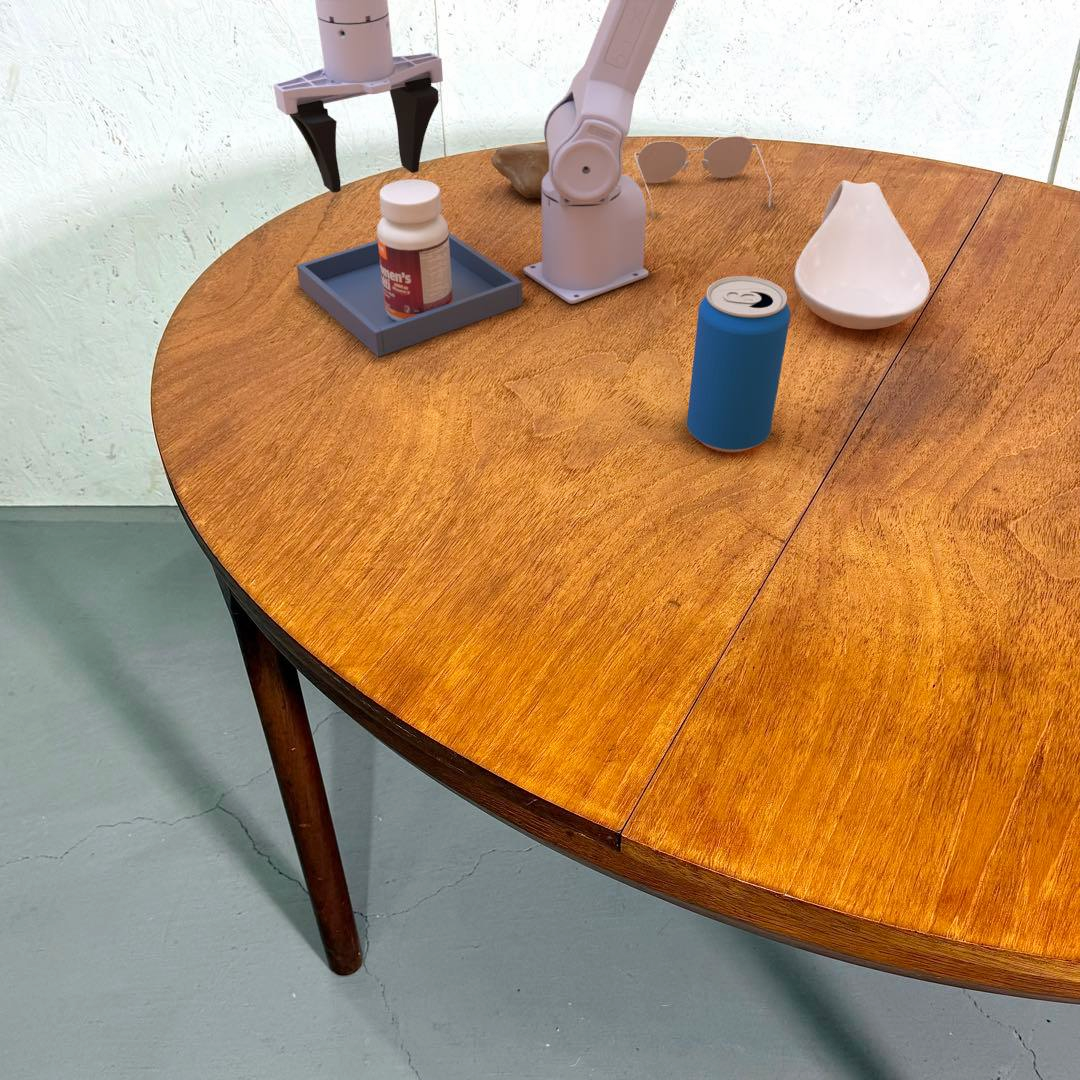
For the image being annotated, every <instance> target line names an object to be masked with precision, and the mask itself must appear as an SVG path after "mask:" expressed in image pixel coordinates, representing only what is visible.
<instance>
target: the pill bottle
mask: <svg viewBox="0 0 1080 1080" xmlns="http://www.w3.org/2000/svg"><path fill="white" fill-rule="evenodd" d="M441 195H442V194H441V189H440V187H439V186H438V184H436V183H434V182H432V181H430V180H425V179H418V178H417V179H416V178H415V179H414V178H413V179H412V178H409V179H400V180H395V181H392V182H390V183H388V184H385V185H384V186H382V187H381V189H380V190H379V209H380V215H381V216H382V217H381V218H380V220H379V221H378V223H377V227H376V237H377V240H378V247H379V256H380V267H381V276H382V285H383V293H384V302H385V309H386V312H387V314H388V315H389V317H390V318H392V319H393V320H395V321H396V322H398V321H400V320H403V319H406V318H409V317H412V316H415V315H418V314H421V313H424V312H426V311H429V310H432V309H435V308H438V307H441V306H444V305H447V304H450V303H452V302H453V296H452V280H451V264H450V248H449V233H450V232H449V226H448V225H449V224H448V222H447V220H446V218H445V217H444V216H443V215H442V214H441V213H442V212H443V205H442V196H441Z"/></svg>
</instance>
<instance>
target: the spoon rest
mask: <svg viewBox="0 0 1080 1080" xmlns="http://www.w3.org/2000/svg"><path fill="white" fill-rule="evenodd" d="M834 189H835V190H834V191H833V193H832V195H831V196H830V198H829V200H828V202H827V205H826V207H825V209H824V213H823V216H822V219H821V225H820V226H819V227H818V229H817V230H816V231H815V232H814V234H813V235H812V236H811V238H810V239H809V241H808V242H807V244H806V245H805V247H804V248H803V249H802V251H801V253H800V254H799V257H798V258H797V260H796V263H795V266H794V271H793V273H794V274H793V277H794V278H793V279H794V284H795V287H796V290H797V293H798V294H799V297H800V298H801V299H802V300H803V302H804V303H805V305H806V306H807V307H808V309H809V310H810V311H812V312H813V313H814V314H816V315H817V316H818V317H819V318H821V319H823V320H825V321H827V322H829V323H831V324H833V325H836V326H840V327H843V328H848V329H853V330H877V329H883V328H888V327H891V326H894V325H897V324H899V323H902V322H904V321H905V320H907V319H908V318H911V317H912V316H913V315H915V314H916V313H917V312H918V311H919V310H920V309H922V307H923V306H924V304H925V303H926V302H927V300H928V298H929V296H930V292H931V279H930V276H929V274H928V271H927V269H926V266H925V265H924V262H923V261H922V259H921V257H920V255H919V254H918V252H917V251H916V248H915V247H914V245H913V244H912V242H911V241H910V240H909V238H908V236H907V234H906V233H905V231H904V230H903V227H901V225H900V223H899V222H898V219H897V218H896V217H895V214H894V213H893V211H892V209H891V208H890V206H889V204H888V202H887V200H886V198H885V196H884V194H883V191H882V190H881V188H880V185H878V183H877V182H874V181H871V182H866V183H855V182H852V181H849V180H848V179H847V180H846V179H844V180H842V181H840V183H839V184H838V185H837V186H836V188H834Z"/></svg>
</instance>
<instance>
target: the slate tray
mask: <svg viewBox="0 0 1080 1080" xmlns="http://www.w3.org/2000/svg"><path fill="white" fill-rule="evenodd" d="M449 248H450V264H451V280H452V296H453V302H452V303H450V304H447V305H444V306H441V307H438V308H435V309H432V310H429V311H426V312H424V313H421V314H418V315H415V316H412V317H409V318H406V319H403V320H400V321H398V322H396V321H395V320H393V319H392V318H390V317H389V315H388V314H387V312H386V309H385V302H384V293H383V285H382V276H381V267H380V256H379V247H378V239H377V240H374V241H371V242H367V243H364V244H360V245H358V246H354V247H351V248H348V249H344V250H341V251H338V252H333V253H332V254H327V255H324V256H321V257H318V258H314V259H312V260H308V261H305V262H302V263H298V264H296V265H295V266H296V270H297V271H296V273H297V276H298V283H299V289H301V290H302V291H303V293H305V294H306V295H307V296H308V297H309V298H311V299H312V301H314V302H316V304H318V305H319V306H320V307H321V308H322V309H324V311H326V313H328V314H329V315H330V316H331V317H332V318H334V319H335V320H336V322H338V323H339V324H340V325H341V326H342V327H344V329H346V330H347V331H348V332H350V334H351V335H353V336H354V337H355V338H356V339H357V340H358V341H359V342H361V343H362V344H363V345H364V346H365V347H367V349H369V350H370V351H371V352H372V353H373V354H374V355H375V356H376V357H377V358H380V357H383V356H386V355H389V354H391V353H394V352H396V351H400V350H403V349H404V348H407V347H411V346H413V345H416V344H419V343H422V342H424V341H427V340H430V339H433V338H435V337H438V336H441V335H444V334H446V333H449V332H452V331H455V330H458V329H460V328H463V327H467V326H469V325H472V324H474V323H477V322H480V321H482V320H486V319H488V318H492V317H494V316H496V315H499V314H502V313H505V312H507V311H511V310H513V309H516V308H519V307H521V306H523V303H524V301H523V281H521V280H520V279H519V278H518V277H516V276H514V275H513V274H511V273H510V272H508V271H507V270H506V269H504V268H503V267H501V266H500V265H498V264H497V263H496V262H494V261H492V260H491V259H489V258H488V257H487V256H485V255H483V254H482V253H480V252H479V251H478V250H476V249H475V248H473V247H472V246H470V245H468V244H467V243H465V241H463V240H461V239H460V238H458V237H457V236H455V235H454V234H453V233H451V232H449Z"/></svg>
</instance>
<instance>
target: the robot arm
mask: <svg viewBox="0 0 1080 1080" xmlns="http://www.w3.org/2000/svg"><path fill="white" fill-rule="evenodd" d="M314 2H315V11H316V16H317V23H318V32H319V38H320V46H321V47H320V48H321V53H322V59H323V67H322V68H319V69H317V70H314V71H311V72H307V73H305V74H303V75H300V76H298V77H294V78H292V79H289V80H286V81H283V82H277V83H274V84H273V90H274V96H275V103H276V108H277V109H278V110H279V111H280V112H282V113H283V114H284V115H286V116H289V117H290V118H291V119H292V121H293V122H294V124H295V126H296V127H297V129H298V130H299V132H300V134H301V135H302V137H303V139H304V141H305V142H306V144H307V146H308V148H309V150H310V152H311V154H312V156H313V158H314V160H315V163H316V165H317V168H318V171H319V172H320V173H319V174H320V176H321V179H322V183H323V186H324V187H325V188H326V189H328V190H329V191H330V192H331V193H333V194H335V193H339V192H341V191H342V190H341V189H342V187H341V176H340V170H339V164H338V158H337V124H338V123H337V122H338V121H337V120H336V119H334V118H333V117H332V116H330V115H329V110H328V108H325V106H324V104H330V103H334V102H339V101H343V100H347V99H353V98H357V97H362V96H363V97H364V96H366V95H367V96H368V95H377V94H381V93H387V92H389V94H390V98H391V102H392V106H393V112H394V116H395V121H396V128H397V129H396V130H397V137H398V138H397V139H398V142H397V143H398V150H399V151H398V152H399V153H398V155H399V160H400V163H401V166H402V167H403V168H404V169H405V170H406V171H408V172H410V173H411V174H415V173H418V172H419V169H420V162H421V161H420V160H421V154H422V150H423V144H424V140H425V136H426V133H427V130H428V126H429V124H430V121H431V119H432V116H433V114H434V112H435V110H436V107H437V106H438V105H439V98H440V97H439V90H438V89H437V88H436V87H434V86H432V84H437V83H441V82H443V81H444V77H443V76H444V75H443V74H444V73H443V60H442V59H443V58H442V57H440V56H438V55H436V54H435V53H432V52H425V53H419V54H409V55H397V56H393V54H394V53H393V44H392V34H391V33H392V32H391V23H390V13H389V3H388V0H315V1H314ZM676 2H677V0H608V3H607V6H606V9H605V11H604V14H603V16H602V19H601V20H600V21H601V22H600V24H599V26H598V29H597V32H596V34H595V37H594V39H593V42H592V44H591V47H590V50H589V52H588V55H587V57H586V59H585V63H584V64H583V66H582V67H581V68H580V69H579V71H578V72H577V73H576V74H575V75H574V77H573V79H572V80H571V83H570V86H569V88H568V90H567V92H566V93H565V95H564V96H563V98H562V99H560V100H559V101H558V102H557V103H556V104H555V105H554V106H553V107H552V108H551V109H550V110H549V113H548V114H547V116H546V118H545V121H544V125H543V137H544V141H545V145H547V147H548V153H549V161H550V162H549V171H548V173H547V174H546V175H545V177H544V178H543V180H542V199H541V261H538V262H535V263H533V264H530V265H526V266H525V267H524V268H523V274H524V275H526V276H528V277H529V278H531V279H532V280H533V281H535V282H536V283H538V284H539V285H541V286H543V288H546V289H547V290H549V292H552V293H553V294H554V295H556V296H557V297H559V298H561V299H562V300H563V301H565V302H566V303H568V304H571V305H573V304H577V303H581V302H582V301H583V302H584V301H585V300H588V299H591V298H593V297H596V296H599V295H601V294H605V293H607V292H610V291H612V290H615V289H618V288H621V287H623V286H626V285H628V284H631V283H634V282H637V281H639V280H643V279H645V278H648V277H649V273H650V272H649V271H648V269H645V268H644V262H645V245H646V231H647V229H646V228H647V204H646V200H645V196H644V193H643V191H642V188H641V187H640V186H639V184H638V182H636V181H635V179H633V178H632V177H631V176H629V175H628V174H625V173H624V174H623V168H624V167H623V166H624V165H623V148H624V145H625V141H626V139H627V137H628V135H629V133H630V127H631V121H632V115H633V109H634V104H635V103H634V102H635V97H636V94H637V93H638V90H639V89H640V85H641V83H642V81H643V79H644V76H645V74H646V71H647V69H648V67H649V65H650V62H651V60H652V58H653V55H654V53H655V51H656V48H657V46H658V44H659V41H660V39H661V37H662V35H663V32H664V30H665V28H666V25H667V23H668V20H669V18H670V16H671V14H672V12H673V9H674V6H675V4H676Z"/></svg>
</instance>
